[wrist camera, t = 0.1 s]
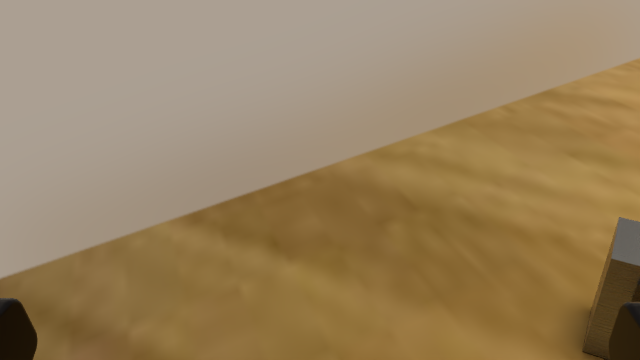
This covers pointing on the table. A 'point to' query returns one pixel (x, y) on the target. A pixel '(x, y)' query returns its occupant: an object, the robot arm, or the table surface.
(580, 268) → the table surface
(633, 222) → the grey rectangular block
